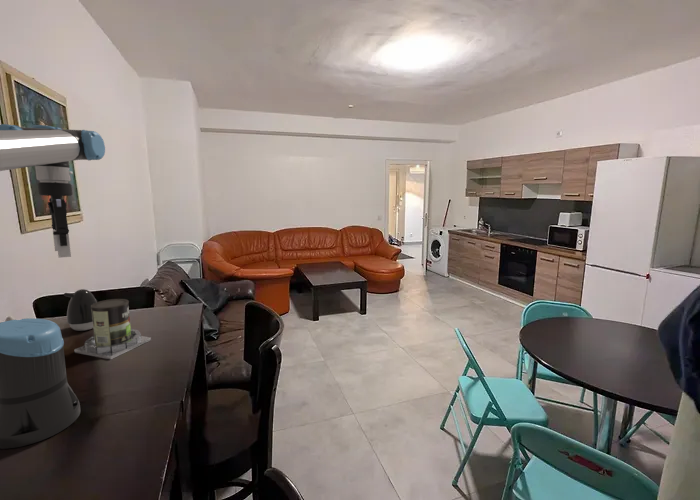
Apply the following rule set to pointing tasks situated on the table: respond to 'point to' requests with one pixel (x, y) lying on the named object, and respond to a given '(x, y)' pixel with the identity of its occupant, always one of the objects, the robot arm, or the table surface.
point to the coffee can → (111, 322)
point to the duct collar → (112, 346)
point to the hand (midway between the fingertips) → (62, 253)
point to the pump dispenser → (80, 310)
